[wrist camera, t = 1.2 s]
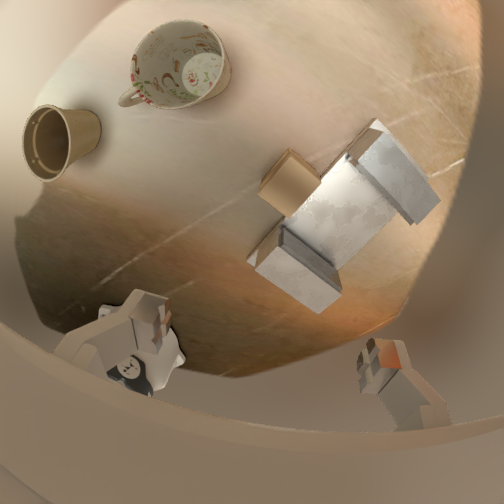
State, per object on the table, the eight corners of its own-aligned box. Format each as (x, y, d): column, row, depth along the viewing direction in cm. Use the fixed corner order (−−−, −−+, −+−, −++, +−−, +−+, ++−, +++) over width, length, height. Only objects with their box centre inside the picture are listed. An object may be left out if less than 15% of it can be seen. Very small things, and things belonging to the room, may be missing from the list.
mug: (253, 90, 27) (240, 82, 18) (158, 135, 31) (115, 149, 22) (225, 31, 24) (201, 3, 15) (133, 80, 27) (84, 78, 18)
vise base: (302, 295, 40) (304, 325, 34) (247, 256, 38) (241, 283, 32) (425, 176, 29) (449, 191, 24) (373, 118, 27) (393, 121, 22)
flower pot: (123, 134, 31) (83, 146, 23) (84, 176, 34) (45, 196, 26) (90, 86, 27) (47, 88, 20) (54, 131, 31) (14, 143, 23)
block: (288, 199, 33) (289, 218, 28) (262, 179, 32) (257, 194, 27) (315, 169, 31) (322, 182, 26) (289, 147, 30) (290, 156, 25)
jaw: (398, 212, 31) (413, 228, 27) (343, 156, 28) (353, 165, 24) (423, 187, 29) (440, 200, 24) (369, 127, 26) (383, 131, 22)
